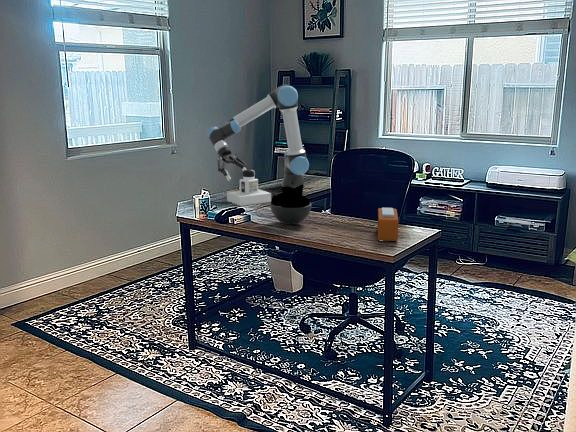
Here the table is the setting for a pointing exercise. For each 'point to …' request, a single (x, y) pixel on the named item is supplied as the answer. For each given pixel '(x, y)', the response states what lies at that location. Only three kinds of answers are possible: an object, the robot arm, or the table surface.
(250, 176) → the container
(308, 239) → the table surface
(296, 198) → the bowl of black rocks
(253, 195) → the block
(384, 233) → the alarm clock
